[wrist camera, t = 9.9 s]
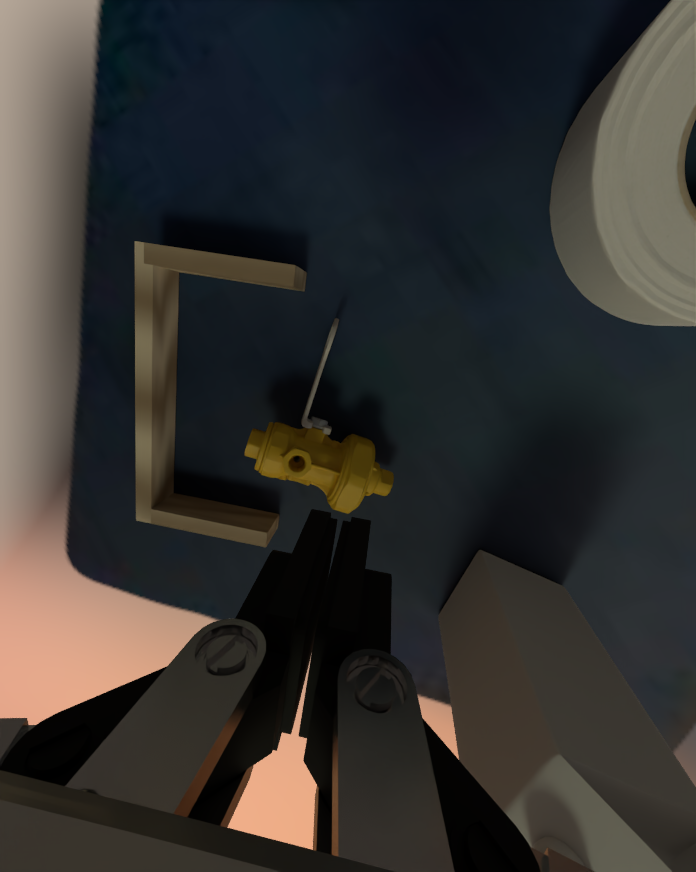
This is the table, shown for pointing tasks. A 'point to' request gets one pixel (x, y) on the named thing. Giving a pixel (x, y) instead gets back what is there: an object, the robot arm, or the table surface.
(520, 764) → the milk carton
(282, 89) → the table surface
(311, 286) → the table surface
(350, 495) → the pressure relief valve
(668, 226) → the roll of tape
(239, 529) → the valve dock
